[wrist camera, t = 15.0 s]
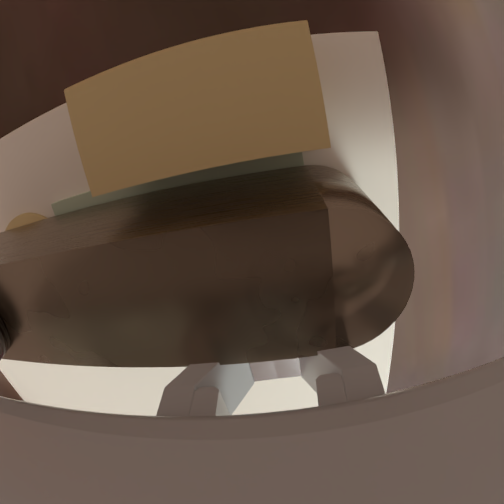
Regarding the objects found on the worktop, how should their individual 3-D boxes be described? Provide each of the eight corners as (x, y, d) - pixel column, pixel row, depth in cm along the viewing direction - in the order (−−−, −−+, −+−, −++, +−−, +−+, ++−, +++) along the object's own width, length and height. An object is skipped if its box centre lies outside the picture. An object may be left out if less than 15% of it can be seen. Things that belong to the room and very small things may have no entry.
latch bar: (31, 303, 12) (-23, 369, 8) (-1, 232, 11) (-71, 289, 7) (369, 264, 10) (416, 362, 6) (364, 158, 9) (436, 212, 5)
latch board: (368, 36, 8) (410, 14, 5) (375, 422, 17) (385, 469, 14) (-74, 196, 11) (-111, 218, 8) (58, 424, 20) (43, 456, 17)
